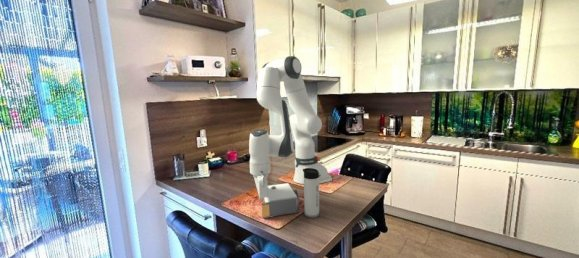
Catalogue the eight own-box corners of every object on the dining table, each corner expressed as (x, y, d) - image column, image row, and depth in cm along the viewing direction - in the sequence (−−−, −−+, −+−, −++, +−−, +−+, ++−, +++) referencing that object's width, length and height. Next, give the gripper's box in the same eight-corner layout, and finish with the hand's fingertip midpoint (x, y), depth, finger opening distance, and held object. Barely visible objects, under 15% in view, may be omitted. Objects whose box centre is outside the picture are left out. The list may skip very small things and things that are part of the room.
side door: (297, 211, 107) (297, 198, 106) (298, 212, 106) (298, 199, 105) (262, 216, 103) (261, 203, 102) (262, 218, 102) (261, 204, 101)
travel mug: (302, 211, 108) (301, 167, 104) (317, 210, 108) (317, 166, 105) (304, 218, 102) (303, 171, 98) (320, 217, 102) (320, 171, 99)
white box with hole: (292, 196, 123) (291, 181, 122) (301, 211, 108) (301, 194, 107) (264, 199, 120) (263, 185, 119) (270, 215, 104) (269, 199, 103)
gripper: (271, 175, 96) (272, 208, 98) (264, 161, 116) (265, 189, 118) (255, 176, 95) (256, 210, 97) (250, 162, 114) (252, 190, 116)
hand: (261, 198), depth 107 cm, fingers closed
